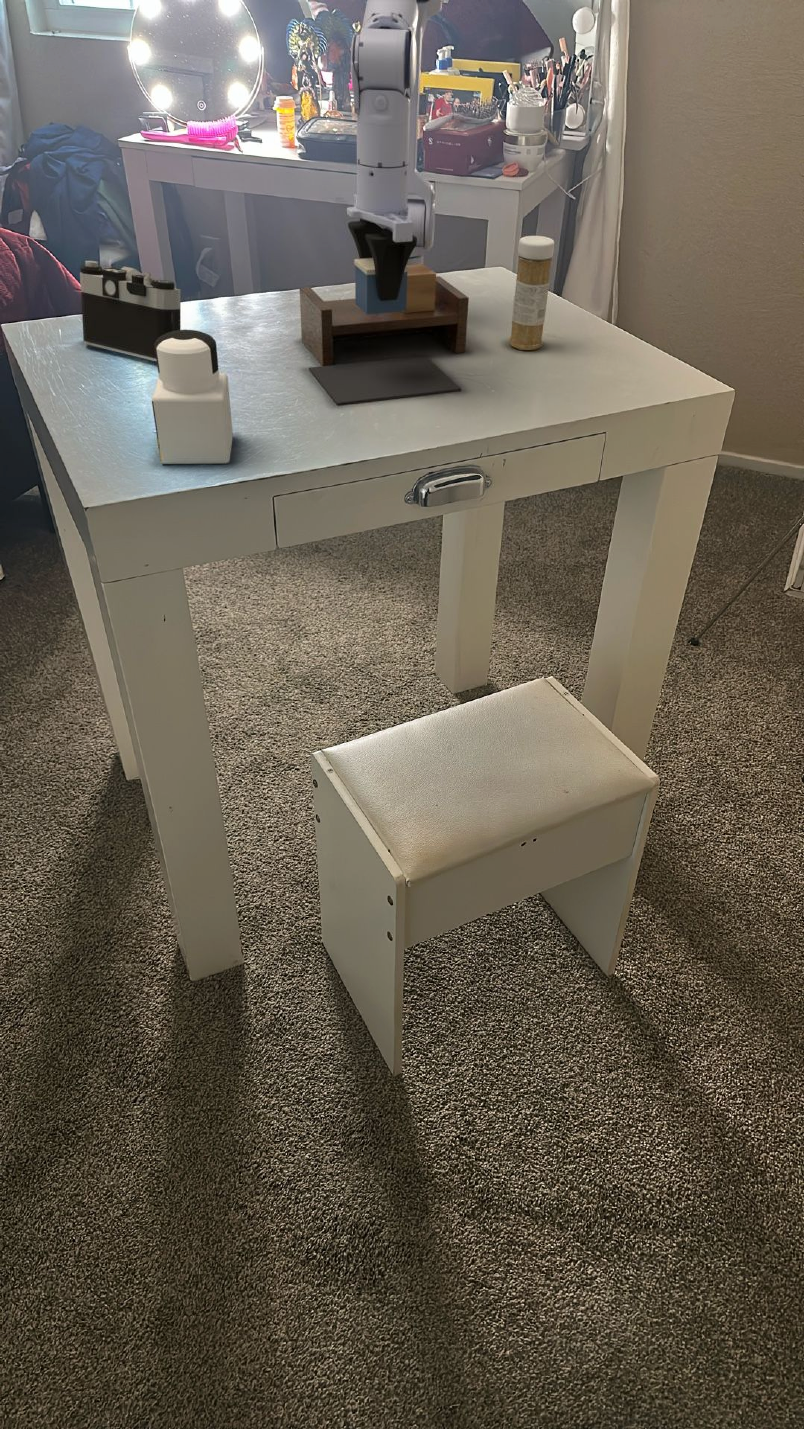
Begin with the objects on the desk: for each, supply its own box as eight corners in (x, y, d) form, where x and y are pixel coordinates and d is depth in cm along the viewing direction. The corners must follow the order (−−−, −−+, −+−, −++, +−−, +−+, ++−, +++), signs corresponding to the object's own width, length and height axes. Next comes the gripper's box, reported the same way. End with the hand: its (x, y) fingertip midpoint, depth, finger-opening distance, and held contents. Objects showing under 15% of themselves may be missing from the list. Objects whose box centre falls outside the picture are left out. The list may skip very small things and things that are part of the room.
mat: (308, 369, 119) (308, 367, 119) (425, 357, 123) (425, 355, 123) (337, 405, 110) (337, 402, 110) (460, 390, 115) (461, 388, 115)
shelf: (301, 341, 127) (299, 287, 122) (437, 328, 133) (439, 276, 128) (322, 367, 120) (321, 310, 115) (465, 352, 125) (469, 297, 121)
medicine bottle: (167, 436, 102) (152, 323, 95) (233, 436, 103) (223, 324, 95) (160, 465, 97) (143, 348, 89) (229, 464, 98) (218, 348, 90)
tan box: (391, 303, 125) (392, 266, 122) (422, 300, 126) (423, 264, 123) (403, 313, 122) (404, 275, 119) (434, 310, 123) (436, 273, 120)
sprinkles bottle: (525, 338, 130) (537, 232, 122) (548, 347, 128) (562, 240, 119) (501, 344, 128) (512, 237, 120) (525, 353, 126) (537, 245, 117)
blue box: (354, 303, 113) (354, 259, 110) (394, 300, 115) (395, 256, 112) (366, 315, 110) (366, 269, 107) (407, 311, 112) (408, 266, 108)
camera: (213, 356, 125) (214, 275, 120) (160, 364, 117) (159, 277, 112) (128, 336, 130) (126, 257, 125) (71, 343, 122) (66, 258, 117)
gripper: (328, 152, 107) (331, 278, 115) (369, 177, 96) (368, 314, 105) (386, 150, 109) (384, 274, 117) (432, 175, 98) (426, 309, 107)
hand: (380, 293), depth 111 cm, fingers closed on blue box, 4 cm apart
